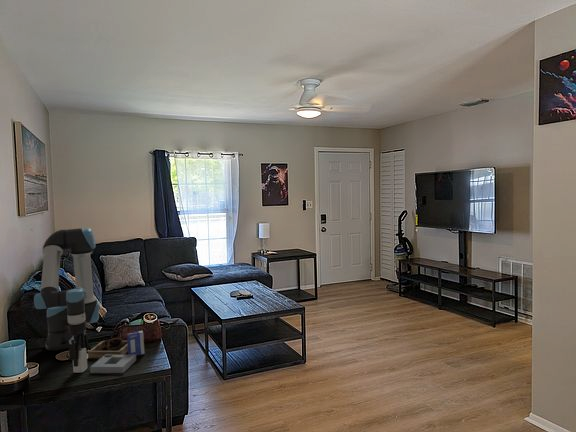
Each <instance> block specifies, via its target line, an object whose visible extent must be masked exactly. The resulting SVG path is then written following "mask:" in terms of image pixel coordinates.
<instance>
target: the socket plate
mask: <svg viewBox="0 0 576 432" xmlns="http://www.w3.org/2000/svg"><path fill="white" fill-rule="evenodd" d="M136 361H137V356H136V355H128V354H125V355H112V354H106V355H104V356H103V357H102V358H98V359H97V361H95V362H94V363H93V364H91V366H90V367H89V368H90V369H89V371H90V374H124V373H125V372H126V371H127V370H128V369H129V368H130V367H131V366H133V364H134V363H135V362H136Z"/></svg>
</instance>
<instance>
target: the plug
mask: <svg viewBox="0 0 576 432" xmlns="http://www.w3.org/2000/svg"><path fill="white" fill-rule="evenodd" d="M79 359H80V367H81V372H80V373H84V372H85V371H86V370H87V369H88V368H89V367H88V353H86V348H81V345H79ZM72 368H73V372H74V362H73V361H72Z"/></svg>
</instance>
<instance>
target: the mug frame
mask: <svg viewBox="0 0 576 432" xmlns="http://www.w3.org/2000/svg"><path fill="white" fill-rule="evenodd" d="M105 341H106V340H102V341H100V342H99V343H98V344H96V345H95V346H93V347H92V348H91V349H90V350H88V353H87V359H100V358H102V357H103V356H104V355H106V354H112V355H127V354H128V345H127V340H122V341H123V342H124V344H123V345H124V347H123V348H121V349H120V350H119V351H108V350H104V349H107V346H106V345H105ZM112 348H113V346H112Z"/></svg>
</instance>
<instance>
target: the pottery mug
mask: <svg viewBox="0 0 576 432" xmlns="http://www.w3.org/2000/svg"><path fill="white" fill-rule="evenodd" d="M104 341H105V345H106V346H107V348H106V349H107V351H119V350H120V349H121V348H123V347H124V345H123V344H124V342H123V341H124V340H123V339H121V338H119V337H114V338H113V337H112V338H111V339H105V340H104ZM112 346H113V348H112Z"/></svg>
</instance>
